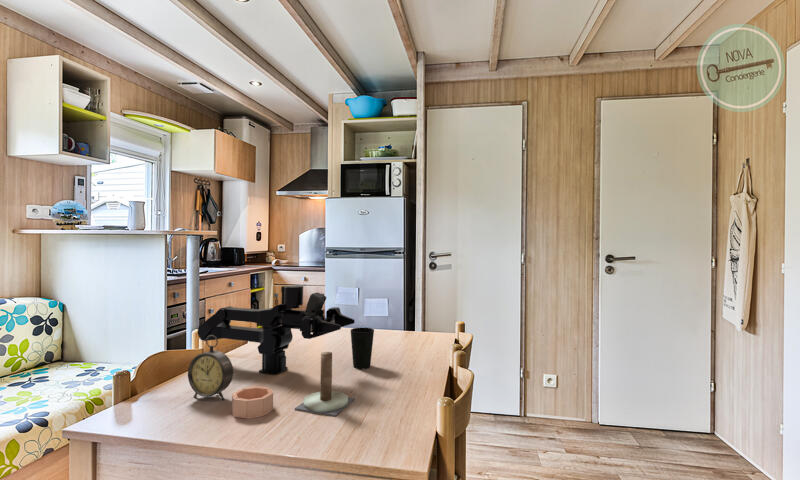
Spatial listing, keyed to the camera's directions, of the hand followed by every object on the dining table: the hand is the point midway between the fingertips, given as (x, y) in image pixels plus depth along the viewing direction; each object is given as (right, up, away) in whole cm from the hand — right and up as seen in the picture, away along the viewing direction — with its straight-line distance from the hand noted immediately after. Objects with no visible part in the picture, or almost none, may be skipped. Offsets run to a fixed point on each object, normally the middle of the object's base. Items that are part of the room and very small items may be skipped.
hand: (347, 324), depth 122 cm
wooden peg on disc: (-3, -16, -18) cm, 24 cm away
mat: (-3, -17, -18) cm, 25 cm away
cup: (+3, -17, +14) cm, 22 cm away
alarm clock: (-34, -16, -14) cm, 40 cm away
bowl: (-20, -16, -22) cm, 34 cm away
